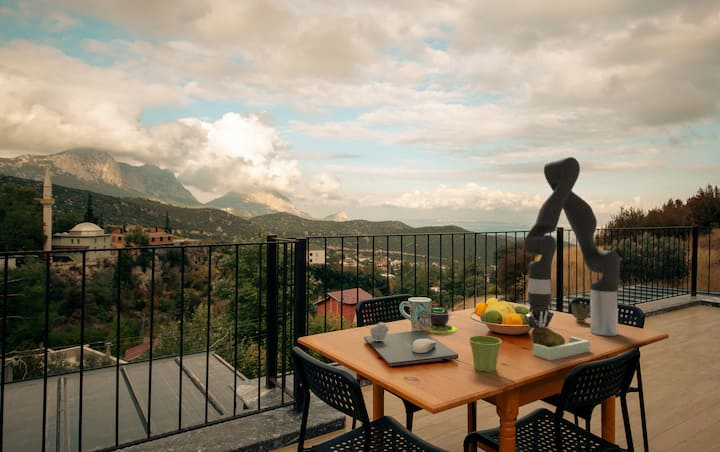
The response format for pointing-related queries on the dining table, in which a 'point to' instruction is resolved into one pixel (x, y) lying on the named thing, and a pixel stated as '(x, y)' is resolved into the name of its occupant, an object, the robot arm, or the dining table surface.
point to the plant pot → (485, 352)
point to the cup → (580, 312)
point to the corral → (562, 349)
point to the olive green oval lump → (546, 337)
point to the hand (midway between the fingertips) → (538, 339)
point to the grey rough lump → (379, 331)
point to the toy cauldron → (441, 321)
